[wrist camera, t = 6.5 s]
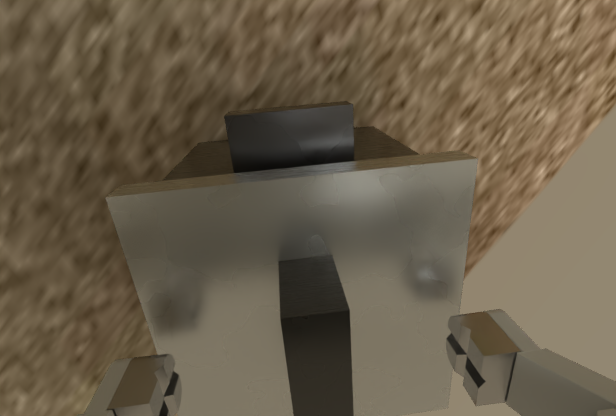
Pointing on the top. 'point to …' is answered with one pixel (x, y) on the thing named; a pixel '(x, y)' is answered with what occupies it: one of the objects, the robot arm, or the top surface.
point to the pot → (288, 141)
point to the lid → (304, 283)
